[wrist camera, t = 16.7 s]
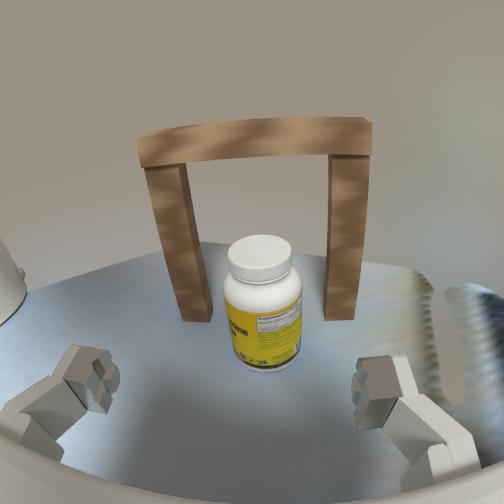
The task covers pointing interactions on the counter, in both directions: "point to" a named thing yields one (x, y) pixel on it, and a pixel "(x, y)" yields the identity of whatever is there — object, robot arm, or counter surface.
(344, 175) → the walnut archway
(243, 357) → the pill bottle
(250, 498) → the counter surface
